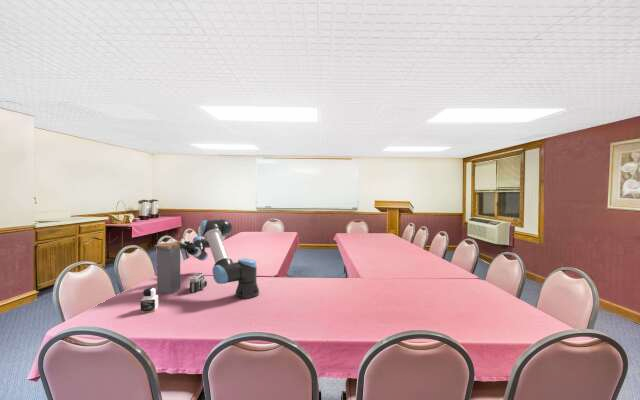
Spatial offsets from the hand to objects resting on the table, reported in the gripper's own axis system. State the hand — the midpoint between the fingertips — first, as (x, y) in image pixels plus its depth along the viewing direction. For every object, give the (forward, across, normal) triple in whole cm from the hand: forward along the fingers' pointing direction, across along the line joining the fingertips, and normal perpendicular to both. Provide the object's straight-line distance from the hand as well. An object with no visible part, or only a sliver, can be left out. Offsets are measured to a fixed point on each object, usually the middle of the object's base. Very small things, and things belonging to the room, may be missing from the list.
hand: (176, 240), depth 202 cm
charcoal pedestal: (-10, 0, -33) cm, 34 cm away
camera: (-16, -19, -30) cm, 39 cm away
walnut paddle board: (+2, 0, -5) cm, 6 cm away
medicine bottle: (+16, -12, -48) cm, 52 cm away
